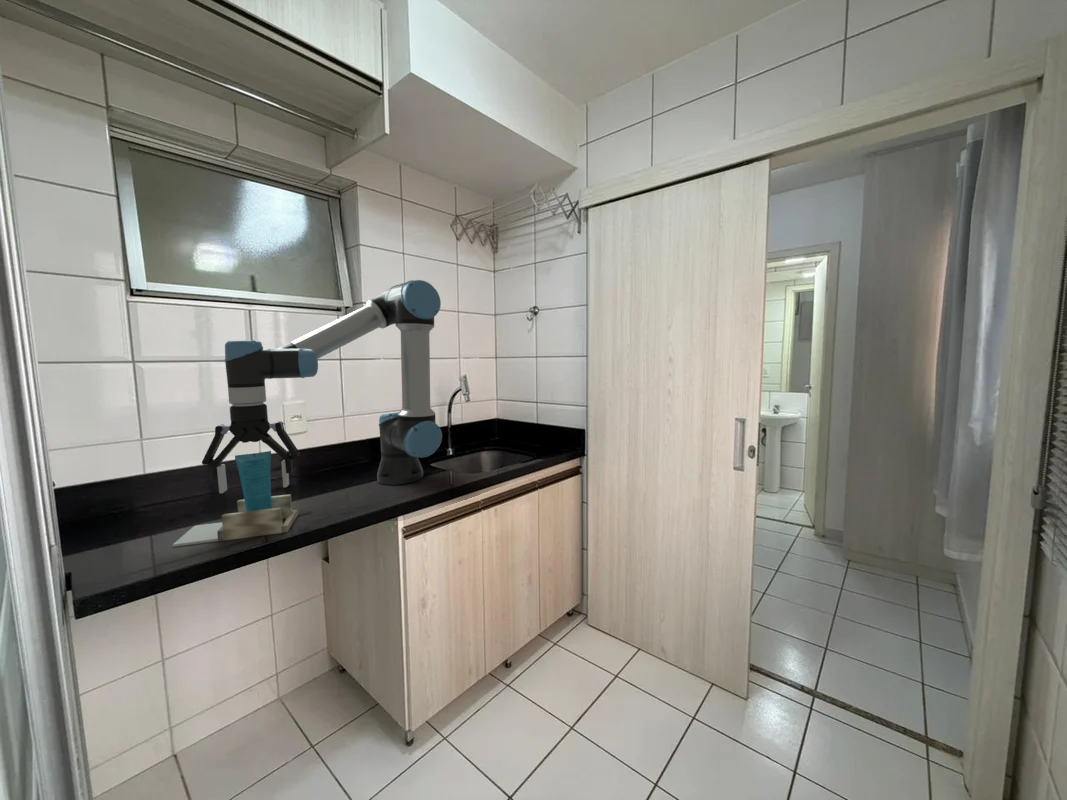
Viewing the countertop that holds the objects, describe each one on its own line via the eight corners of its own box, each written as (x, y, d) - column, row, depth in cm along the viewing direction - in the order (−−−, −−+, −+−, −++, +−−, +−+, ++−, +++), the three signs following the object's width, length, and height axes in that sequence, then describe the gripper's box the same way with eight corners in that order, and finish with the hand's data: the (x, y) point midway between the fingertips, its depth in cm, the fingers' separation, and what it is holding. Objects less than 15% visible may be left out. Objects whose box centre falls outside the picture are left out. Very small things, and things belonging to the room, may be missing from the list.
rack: (297, 515, 113) (295, 493, 112) (287, 531, 102) (285, 508, 102) (235, 522, 108) (233, 500, 108) (218, 541, 98) (215, 516, 97)
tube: (275, 520, 110) (268, 448, 107) (280, 525, 106) (273, 452, 104) (241, 529, 104) (233, 454, 102) (245, 535, 101) (236, 457, 99)
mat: (236, 522, 108) (236, 520, 108) (219, 540, 98) (219, 538, 98) (195, 527, 106) (194, 525, 106) (172, 547, 95) (172, 544, 95)
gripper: (308, 400, 109) (313, 479, 111) (194, 404, 101) (202, 489, 104) (302, 403, 102) (308, 487, 104) (178, 408, 94) (188, 499, 97)
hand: (255, 488), depth 104 cm, fingers open, 13 cm apart
